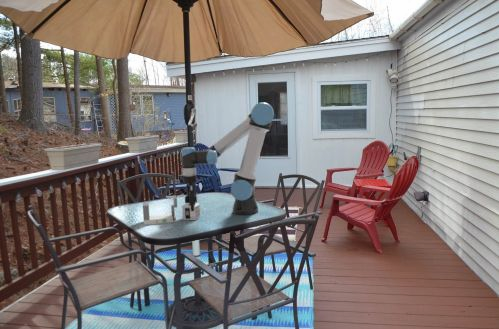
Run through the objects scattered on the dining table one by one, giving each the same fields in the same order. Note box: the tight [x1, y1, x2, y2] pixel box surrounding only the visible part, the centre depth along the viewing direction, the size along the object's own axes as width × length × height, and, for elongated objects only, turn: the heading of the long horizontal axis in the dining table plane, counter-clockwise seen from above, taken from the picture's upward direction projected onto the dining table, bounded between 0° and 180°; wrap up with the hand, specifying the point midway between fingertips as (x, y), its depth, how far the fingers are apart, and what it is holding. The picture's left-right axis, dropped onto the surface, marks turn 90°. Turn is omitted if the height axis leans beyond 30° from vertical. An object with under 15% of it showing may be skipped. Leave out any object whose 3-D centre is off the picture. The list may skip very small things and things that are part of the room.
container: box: [181, 194, 201, 221], centre depth 212 cm, size 8×8×13 cm
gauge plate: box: [170, 194, 178, 221], centre depth 209 cm, size 3×10×12 cm, turn 15°
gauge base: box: [142, 201, 177, 226], centre depth 208 cm, size 17×9×10 cm, turn 105°
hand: (191, 214), depth 213 cm, fingers closed on container, 10 cm apart
